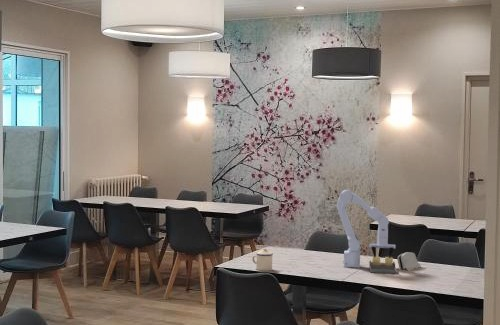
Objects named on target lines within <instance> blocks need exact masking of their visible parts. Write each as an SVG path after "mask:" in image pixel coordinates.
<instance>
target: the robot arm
mask: <svg viewBox="0 0 500 325" xmlns="http://www.w3.org/2000/svg"><path fill="white" fill-rule="evenodd" d="M350 201H351V202H352V203H356V204H357V205H359V206H360V207H361V208H363V209H364V210H365V211H366V213H367V216H369V218H371V219H372V220H373V221H375V222H377V224H378V225H377V226H378V228H377V241H376V242H377V243H369V248H371V251H372V254H373V256H376V255H377V253H376V252H377V249H388V257H392V254H393V252H394V250H395V249H396V244H390V243H388V242H389V241H388V240H389V224H390V221H389V218H388V216H386V215H385V214H384V212H381V211H380V210H378V207H375V206H371V205H369V204H368V203H367V202H365V201H364V200H363V199H362V198H361V197H360V196H359V195H358V194H355V192H352V191H351V190H350V189H343V190H342V191H341V192H340V194H339V197H338V199H337V203H336V209H337V212H338V215H339V218H340V220H341V223H342V224H341V225H342V226H343V229H344V232H345V234H346V237H347V240H348V242H347V243H348V249H347V250H344V252H343V262H342V263H343V267H344V268H360V269H361V266H362V265H361V249H360V247H361V244H360V241H359V239H358V238H357V237H356V235H355V232H354V229H353V226H352V223H351V221H350V218H349V216H348V212H347V209H346V207H347V205H348V203H349V202H350Z"/></svg>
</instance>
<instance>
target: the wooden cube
mask: <svg viewBox="0 0 500 325" xmlns="http://www.w3.org/2000/svg"><path fill="white" fill-rule="evenodd" d="M371 258H372V260H371V262H372V264H373V265H380V263H381V256H374V255H372V257H371Z"/></svg>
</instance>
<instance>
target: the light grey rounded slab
mask: <svg viewBox="0 0 500 325" xmlns="http://www.w3.org/2000/svg"><path fill="white" fill-rule="evenodd" d="M396 258H397V264H398V268H399V270H405V269H406V271H407V270H408V271H411V269H412V270H415V269H414V268H416V269H418V267H419V268H421V263H419V262H418V261H419V260H418V259H417V256H416V254H415V252H412V251H411V252H410V251H409V252H408V251H407V252H404V253H401V254H399V255H398V256H397V257H396Z"/></svg>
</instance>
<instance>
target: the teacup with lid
mask: <svg viewBox="0 0 500 325" xmlns="http://www.w3.org/2000/svg"><path fill="white" fill-rule="evenodd" d="M255 257H256V260H255ZM251 260H252V262H253V264H255V265H256V270H257V271H265V272H268V271H271V270H273V252H272V251H269V250H267V248H266V247H263V248H262V249H261V250H260V251H257V252H256V255H255V254H254V255H252V259H251Z"/></svg>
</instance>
